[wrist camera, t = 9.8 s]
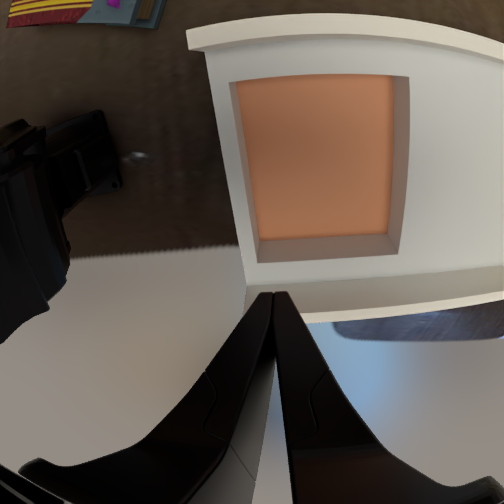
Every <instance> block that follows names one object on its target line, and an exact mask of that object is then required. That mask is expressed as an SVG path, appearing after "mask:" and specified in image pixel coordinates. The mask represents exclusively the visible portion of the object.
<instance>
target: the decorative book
mask: <svg viewBox="0 0 504 504" xmlns="http://www.w3.org/2000/svg"><path fill="white" fill-rule="evenodd" d="M165 3H166V0H13V1H12V5H11V9H10V13H9V17H8V22H7V27H6V28H14V27H27V26H43V25H55V24H73V23H106V24H105V25H113V26H130V27H142V28H152V29H158V25H159V22H160V19H161V15H162V12H163V9H164V6H165Z"/></svg>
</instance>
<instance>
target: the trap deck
mask: <svg viewBox="0 0 504 504" xmlns="http://www.w3.org/2000/svg"><path fill="white" fill-rule="evenodd" d="M186 35H187V41H188V47H189V50H194V51H202V52H205V57H206V63H207V69H208V75H209V81H210V87H211V92H212V98H213V104H214V110H215V115H216V121H217V127H218V132H219V138H220V144H221V149H222V155H223V160H224V166H225V171H226V177H227V182H228V188H229V193H230V199H231V204H232V209H233V215H234V220H235V225H236V231H237V236H238V241H239V247H240V252H241V257H242V263H243V268H244V273H245V278H246V283H247V290H246V296H245V303H244V311H243V316H244V314H245V313H246V312H247V310H248V309H249V307H250V306H251V304H252V303H253V302H254V300H255V299H256V297H257V296H258V294H259V293H260V292H273V293H274V292H275V291H287V292H288V293H289V295H290V297H291V298H292V300H293V302H294V304H295V306H296V307H297V309H298V311H299V313H300V315H301V317H302V318H303V320H304V322H305V323H320V322H334V321H347V320H359V319H370V318H380V317H389V316H398V315H407V314H415V313H423V312H430V311H437V310H444V309H451V308H457V307H463V306H470V305H475V304H481V303H487V302H492V301H497V300H503V299H504V44H503V43H501V42H498V41H495V40H492V39H489V38H486V37H483V36H479V35H476V34H473V33H469V32H465V31H462V30H458V29H454V28H449V27H445V26H441V25H436V24H431V23H426V22H420V21H414V20H408V19H401V18H393V17H384V16H374V15H360V14H333V13H318V14H291V15H277V16H266V17H257V18H249V19H242V20H235V21H229V22H223V23H218V24H212V25H207V26H203V27H198V28H193V29H189V30H186Z"/></svg>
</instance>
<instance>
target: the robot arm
mask: <svg viewBox="0 0 504 504" xmlns="http://www.w3.org/2000/svg"><path fill="white" fill-rule="evenodd" d="M95 115H97V116H98V120H97V119H96V118H95ZM46 135H47V137H46ZM117 165H118V163H117V160H116V157H115V153H114V149H113V146H112V142H111V138H110V135H109V134H108V131H107V127H106V123H105V119H104V115H103V113H102V112H101V111H100V110H96V111H93V112H90V113H87V114H85V115H82V116H79V117H77V118H74V119H72V120H69V121H67V122H64V123H62V124H59V125H57V126H55V127H52V128H50V129H48V130H46V128H45V126H40V127H36V126H31V125H29V124H28V123H27V122H26V121H25V120H24V119H19V120H16V121H14V122H11V123H9V124H7V125H5V126H3V127H1V128H0V344H1V343H3V342H4V341H5V340H6V339H7V338H8V337H9V336H10V335H11V334H12V333H13V332H14V331H15V330H16V329H17V328H18V327H19V326H21V325H22V323H24V322H26V321H28V320H29V319H31V318H32V317H34V316H36V315H39V314H41V313H44V312H46V311H48V310H49V309H50V307H49V305H48V303H47V302H48V301H49V300H50V299H51V298H52V297H54V296H55V295H56V294H57V293H58V292H59V291H60V290H61V289H62V287H63V286H64V285H65V283H66V281H67V280H66V277H65V276H66V274H67V271H68V268H69V266H70V259H69V253H70V250H71V246H70V243H69V241H67V238H66V234H65V231H64V227H63V223H62V219H63V218H64V217H65V216H66V215H67V214H68V213H69V212H70V211H71V210H73V209H74V208H75V207H76V206H77V205H78V204H79V203H80V202H81V201H82V200H83V199H85V198H86V197H89V196H93V195H98V194H103V193H109V192H114V191H118V190H119V189H120V188H121V187H122V180H121V177H120V174H119V170H118V167H117ZM114 182H115V183H117V186H116V185H115V184H114ZM275 362H276V364H277V372H278V380H279V388H280V396H281V405H282V412H283V421H284V429H285V438H286V446H287V454H288V464H289V473H290V482H291V491H292V500H293V504H498V503H499V504H504V501H503V500H504V488H503V487H502V485H500V483H498V482H497V481H496V480H495V479H494V478H493V477H492V476H487V477H484V478H481V479H478V480H476V481H473V482H471V483H468V484H465V485H462V486H457V487H450V486H445V485H442V484H440V483H437V482H435V481H434V480H432V479H431V478H429V477H427V476H426V475H424V474H422V473H421V472H419V471H417V470H416V469H414V468H413V467H411V466H409V465H408V464H406V463H405V462H403V461H402V460H400V459H398V458H397V457H396V456H394V455H392V454H391V453H390V452H389V451H388V450H387V449H386V448H385V447H384V446H383V445H382V444H381V443H380V441H379V440H378V439H377V438H376V436H375V435H374V434H373V433H372V431H371V430H370V429H369V427H368V426H367V425H366V423H365V422H364V421H363V419H362V418H361V417H360V415H359V414H358V413H357V411H356V410H355V409H354V407H353V406H352V405H351V403H350V402H349V400H348V399H347V397H346V396H345V394H344V393H343V391H342V389H341V388H340V386H339V385H338V383H337V381H336V379H335V377H334V375H333V374H332V372H331V370H329V366H328V365H327V363H326V361H325V359H324V357H323V355H322V354H321V352H320V350H319V348H318V346H317V344H316V342H315V340H314V339H313V337H312V335H311V333H310V331H309V330H308V328H307V326H306V324H305V322H304V320H303V318H302V317H301V315H300V313H299V311H298V309H297V307H296V306H295V304H294V302H293V300H292V298H291V297H290V295H289V293H288V292H287V291H275V292H274V293H273V292H260V293H259V294H258V296H257V297H256V299H255V300H254V302H253V303H252V304H251V306H250V307H249V309H248V310H247V312H246V313H245V314H244V316H243V317H242V319H241V320H240V322H239V323H238V324H237V326H236V327H235V329H234V330H233V332H232V333H231V334H230V336H229V337H228V339H227V340H226V342H225V343H224V344H223V346H222V347H221V348H220V350H219V351H218V353H217V354H216V355H215V357H214V358H213V360H212V361H211V362H210V364H209V365H208V366H207V368H206V369H205V372H203V373H202V375H201V376H200V377H199V379H198V380H197V381H196V383H195V384H194V385H193V386H192V388H191V389H190V390H189V392H188V393H187V394H186V395H185V396H184V397H183V398H182V400H181V401H180V402H179V403H178V404H177V405H176V406H175V407H174V408H173V409H172V410H171V411H170V412H169V413H168V414H167V416H166V417H165V418H164V419H163V420H162V421H161V422H160V423H159V424H158V425H157V426H156V427H155V428H154V429H153V430H152V431H151V432H150V433H149V434H148V435H147V436H146V437H145V438H143V439H142V440H141V441H139V442H138V443H136V444H134V445H132V446H131V447H128V448H126V449H123V450H120V451H118V452H115V453H112V454H109V455H106V456H103V457H100V458H97V459H94V460H91V461H88V462H85V463H82V464H79V465H74V466H58V465H55V464H53V463H51V462H48V461H46V460H44V459H42V458H37V459H34V460H32V461H30V462H28V463H26V464H24V465H23V466H22V467H21V468H20V469H19V471H18V473H19V474H20V475H22V476H23V477H25V478H26V479H25V478H23V477H22V476H20V475H18V474H16V473H15V472H13V471H11V470H9V469H8V468H6V467H4V466H3V465H1V464H0V504H251V503H252V498H253V492H254V488H255V481H256V477H257V472H258V466H259V461H260V455H261V450H262V444H263V438H264V432H265V427H266V421H267V415H268V409H269V402H270V396H271V390H272V383H273V377H274V370H275ZM27 479H28V480H27ZM29 480H30V481H31V482H30V481H29ZM32 482H33V483H32ZM34 483H35V484H34ZM37 485H38V486H37ZM39 486H40V487H39ZM44 489H45V490H44ZM46 490H47V491H46ZM55 495H56V496H55ZM57 496H58V497H57ZM59 497H60V498H59ZM61 498H62V499H61ZM63 499H64V500H63ZM502 501H503V502H502ZM500 502H501V503H500Z"/></svg>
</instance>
